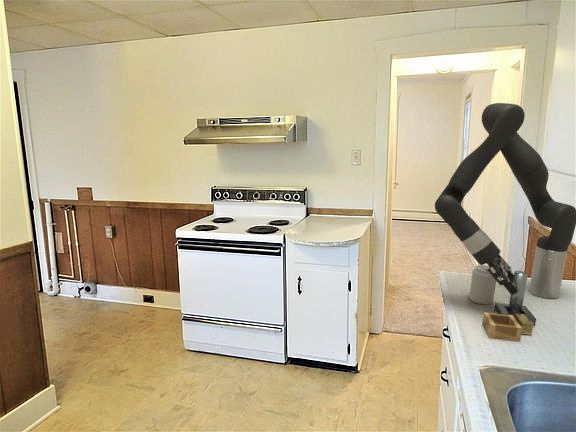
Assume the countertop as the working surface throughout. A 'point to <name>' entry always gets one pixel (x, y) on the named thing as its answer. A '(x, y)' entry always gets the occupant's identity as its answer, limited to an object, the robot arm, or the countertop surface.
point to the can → (482, 285)
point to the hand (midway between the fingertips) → (516, 288)
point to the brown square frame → (501, 326)
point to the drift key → (524, 323)
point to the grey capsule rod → (518, 298)
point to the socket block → (504, 308)
